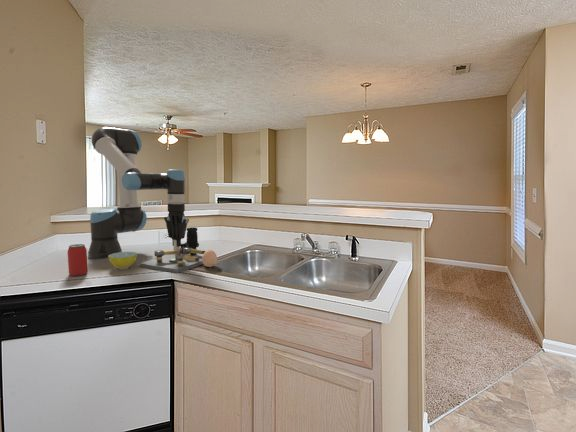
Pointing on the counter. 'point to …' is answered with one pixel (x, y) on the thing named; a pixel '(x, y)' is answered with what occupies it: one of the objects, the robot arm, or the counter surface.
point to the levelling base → (170, 264)
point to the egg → (209, 258)
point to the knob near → (165, 253)
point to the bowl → (122, 259)
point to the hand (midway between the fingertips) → (176, 253)
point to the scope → (191, 240)
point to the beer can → (77, 260)
